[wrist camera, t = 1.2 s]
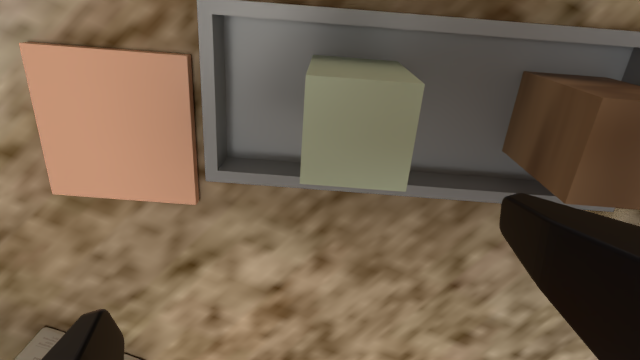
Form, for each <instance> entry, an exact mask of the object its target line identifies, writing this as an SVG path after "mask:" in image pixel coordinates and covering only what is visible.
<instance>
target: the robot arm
mask: <svg viewBox="0 0 640 360" xmlns="http://www.w3.org/2000/svg"><path fill="white" fill-rule="evenodd" d="M500 230H501V233H502V235H503V236H504V238H505V239H506V241H507V242H508V244H509V245H510V247H511V248H512V250H513V251H514V253H515V254H516V256H517V257H518V258H519V260H520V261H521V263H522V264H523V266H524V267H525V269H526V270H527V272H528V273H529V275H530V276H531V278H532V279H533V280H534V282H535V283H536V285H537V286H538V287H539V289H540V290H541V291H542V292H543V294H544V295H545V296H546V297H547V299H548V300H549V301H550V302H551V303H552V304H553V306H554V307H555V308H556V309H557V310H558V312H559V313H560V314H561V315H562V316H563V318H564V319H565V320H566V321H567V322H568V324H569V325H570V326H571V327H572V328H573V330H574V331H575V332H576V333H577V334H578V336H579V337H580V338H581V339H582V340H583V342H584V343H585V344H586V345H587V346H588V348H589V349H590V350H591V351H592V352H593V354H594V355H595V356H596V357H597V358H598V359H599V360H640V227H639V226H636V225H632V224H629V223H626V222H622V221H619V220H615V219H612V218H608V217H605V216H601V215H598V214H594V213H591V212H587V211H584V210H580V209H577V208H574V207H570V206H567V205H563V204H560V203H556V202H553V201H549V200H546V199H542V198H539V197H535V196H532V195H529V194H525V193H516V194H512V195H509V196H506V197H504V198H503V200H502V205H501V214H500ZM41 360H124V337H123V335H122V333H121V331H120V329H119V328H118V326H117V324H116V323H115V321H114V320H113V318H112V317H111V315H110V313H109V312H108V311H107V310H105V309H99V310H96V311H92V312H88V313H86V314H83V315H82V316H81V317H80V318H79V319H78V320H77V321H76V322H75V323H74V324H73V325H72V326H71V328H70V329H69V330H68V331H67V332H66V333H65V334H64V335H63V336H62V337H61V338H60V339H59V341H58V342H57V343H56V344H55V345H54V346H53V347H52V348H51V349H50V350H49V351H48V352H47V354H46V355H45V356H44V357H43V358H42V359H41Z"/></svg>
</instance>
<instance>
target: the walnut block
mask: <svg viewBox="0 0 640 360" xmlns="http://www.w3.org/2000/svg"><path fill="white" fill-rule="evenodd" d="M502 151H503V152H504V153H505V154H507V155H508V156H509V157H510V158H511V159H512V160H514V161H515V162H516V163H517V164H518V165H520V166H521V167H522V168H523V169H524V170H525V171H527V172H528V173H529V174H530V175H531V176H533V177H534V178H535V179H536V180H537V181H538V182H540V183H541V184H542V185H543V186H544V187H546V188H547V189H548V190H549V191H550V192H551V193H553V194H554V195H555V196H556V197H557V198H559V199H560V200H561V201H562V202H563V203H564V204H572V205H585V206H599V207H612V208H625V209H638V210H640V86H638V85H634V84H630V83H627V82H623V81H619V80H615V79H611V78H607V77H594V76H581V75H568V74H555V73H542V72H529V71H523V75H522V79H521V83H520V86H519V90H518V94H517V97H516V101H515V105H514V108H513V112H512V116H511V119H510V123H509V127H508V130H507V134H506V138H505V141H504V145H503V149H502Z"/></svg>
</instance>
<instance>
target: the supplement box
mask: <svg viewBox="0 0 640 360" xmlns="http://www.w3.org/2000/svg"><path fill="white" fill-rule="evenodd" d="M64 334H65V333H64V332H62V331H58V330H55V329H52V328H48V327H44V328H42V329H41V330H40V331H39V332H38V333H37V335H36V336H35V337H34V338H33V339H32V340H31V341H30V342H29V343H28V345H27V346H26V347H25V348H24V349H23V350H22V351H21V352H20V353H19V355H18V356H17V357H16V358H15V359H14V360H41V359H42V358H43V357H44V356H45V355H46V354H47V352H48V351H49V350H50V349H51V348H52V347H53V346H54V345H55V344H56V343H57V342H58V341H59V339H60V338H61V337H62V336H63V335H64ZM124 360H140V359H138V358H135V357H132V356H130V355H127V354H124Z"/></svg>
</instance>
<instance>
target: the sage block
mask: <svg viewBox="0 0 640 360" xmlns="http://www.w3.org/2000/svg"><path fill="white" fill-rule="evenodd" d="M424 87H425V84H424V83H423V82H422V81H420V80H419V79H418V78H417V77H416V76H414V75H413V74H412V73H411V72H410V71H408V70H407V69H406V68H405V67H404V66H402V65H401V64H400V63H399V62H398V61H387V60H374V59H361V58H349V57H336V56H323V55H313V56H312V59H311V62H310V65H309V67H308V70H307V73H306V78H305V95H304V113H303V131H302V149H301V167H300V184H308V185H321V186H335V187H348V188H361V189H374V190H387V191H401V192H406V189H407V183H408V177H409V172H410V166H411V160H412V155H413V149H414V143H415V138H416V132H417V126H418V121H419V115H420V109H421V104H422V98H423V92H424Z"/></svg>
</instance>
